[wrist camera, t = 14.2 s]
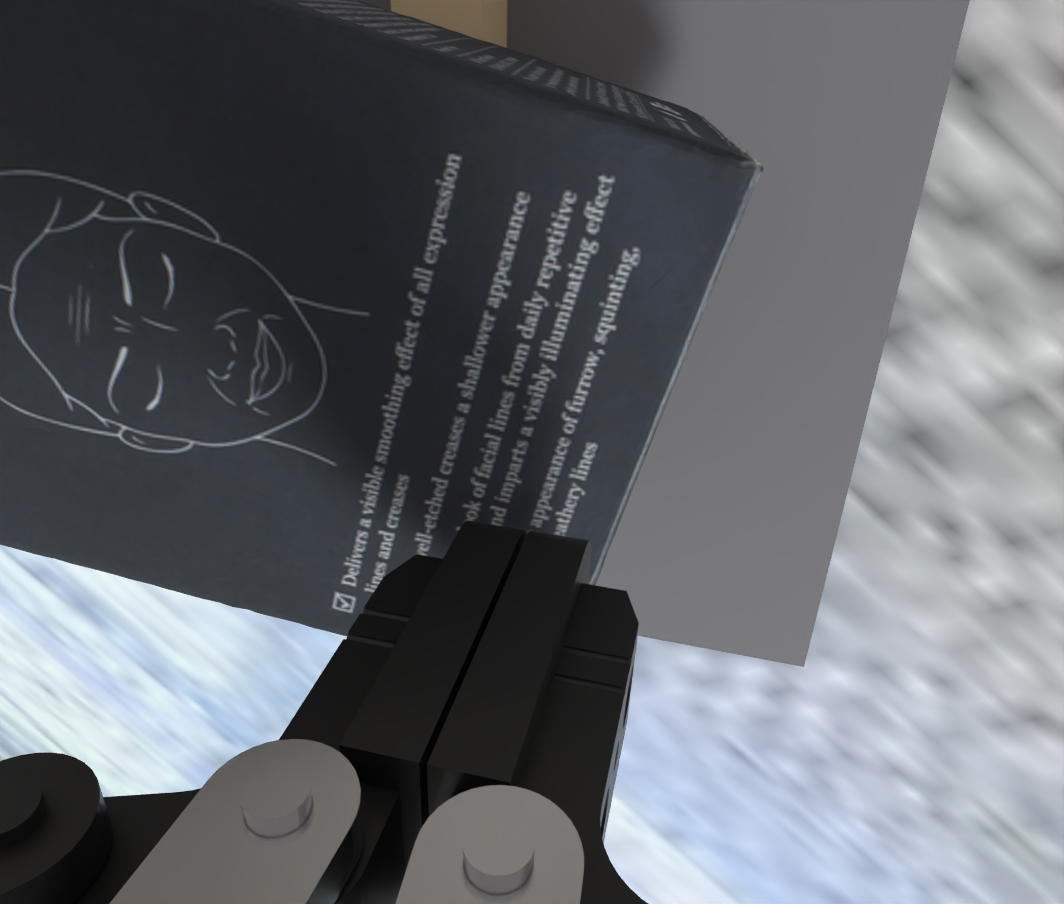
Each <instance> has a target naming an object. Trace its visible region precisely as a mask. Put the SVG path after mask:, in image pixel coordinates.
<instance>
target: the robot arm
mask: <svg viewBox="0 0 1064 904" xmlns="http://www.w3.org/2000/svg"><path fill="white" fill-rule="evenodd" d="M590 562H591V541H590V540H584V539H578V538H572V537H566V536H560V535H554V534H548V533H542V532H536V531H529V532H527V530H523V529H517V528H511V527H505V526H499V525H493V524H487V523H481V522H475V521H469V520H467V521H465V522H464V523H463V525H462V526H461V528H460V530H459V531H458V533H457V535H456V537H455V538H454V540H453V542H452V544H451V546H450V547H449V549H448V551H447V553H446V555H445V556H444V558H443V559H442V558H436V557H430V556H425V555H419V554H416V555H414V556H413V557H411V558H410V559H409V560H407V561H406V562H404V563H403V564H401V565H400V566H399V567H397V568H396V569H394V570H393V571H391V572H390V573H389V574H387V575H386V576H384V577H383V578H382V580H381V582H380V583H379V585H378V586H377V588H376V589H375V591H374V592H373V594H372V596H371V597H370V599H369V600H368V602H367V603H366V605H365V607H364V611H363V614H359V616H358V617H357V619H356V621H355V622H354V624H353V625H352V627H351V628H350V630H349V632H348V636H347V639H346V640H345V639H343V641H342V642H341V644H340V646H339V647H338V649H337V650H336V652H335V653H334V655H333V657H332V658H331V660H330V661H329V663H328V664H327V666H326V667H325V669H324V671H323V672H322V674H321V675H320V677H319V678H318V680H317V682H316V683H315V685H314V686H313V688H312V689H311V691H310V692H309V694H308V696H307V697H306V699H305V700H304V702H303V703H302V705H301V706H300V708H299V710H298V711H297V713H296V714H295V716H294V717H293V719H292V721H291V722H290V724H289V725H288V727H287V728H286V730H285V731H284V733H283V735H282V736H281V737H280V739H279V740H278V741H273V742H268V743H264V744H261V745H258V746H255V747H253V748H251V749H248V750H246V751H244V752H242V753H240V754H238V755H237V756H235V757H234V758H232V759H231V760H229V761H228V762H226V763H225V764H224V765H223V766H222V767H220V768H219V769H218V770H217V771H216V772H215V773H214V774H213V775H212V776H211V777H210V778H209V780H208V781H207V782H206V783H205V784H204V786H203V787H202V788H201V789H196V790H192V791H184V792H174V793H159V794H145V795H130V796H115V797H103V795H102V792H101V789H100V786H99V783H98V780H97V777H96V776H95V774H94V772H93V771H92V769H91V768H90V767H88V766H87V765H86V764H85V763H84V762H82V761H80V760H78V759H77V758H75V757H71V756H68V755H65V754H58V753H33V754H26V755H20V756H16V757H13V758H9V759H5V760H3V761H0V904H648V903H646V902H645V901H644V900H642V899H641V898H640V897H639V896H638V895H637V894H635V893H634V892H633V891H632V890H631V889H630V888H629V887H628V886H627V885H626V883H625V882H624V881H623V880H622V879H621V877H620V876H619V875H618V873H617V872H616V870H615V868H614V867H613V865H612V864H611V862H610V860H609V857H608V855H607V853H606V850H605V848H604V844H603V842H604V837H605V832H606V827H607V822H608V816H609V811H610V806H611V801H612V796H613V789H614V785H615V780H616V775H617V770H618V765H619V758H620V754H621V749H622V744H623V739H624V734H625V728H626V723H627V717H628V709H629V701H630V692H631V684H632V676H633V668H634V660H635V652H636V644H637V635H638V627H639V622H638V620H637V617H636V614H635V612H634V609H633V606H632V604H631V601H630V598H629V596H628V593H627V591H624V590H619V589H613V588H607V587H602V586H596V585H590V584H589V574H590Z"/></svg>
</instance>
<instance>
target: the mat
mask: <svg viewBox="0 0 1064 904" xmlns="http://www.w3.org/2000/svg"><path fill="white" fill-rule="evenodd" d="M360 1H363V2H366V3H369V4H372V5H374V6H377V7H380V8H383V9H386V10H389V11H392V12H395V13H398V14H402V15H406V16H409V17H413V18H416V19H419V20H422V21H425V22H428V23H431V24H434V25H437V26H441V27H443V28H446V29H448V30H451V31H455V32H459V33H462V34H465V35H467V36H470V37H473V38H475V39H479V40H483V41H486V42H490V43H493V44H496V45H499V46H502V47H505V48H508V49H511V50H514V51H517V52H520V53H523V54H526V55H529V56H532V57H535V58H538V59H541V60H544V61H547V62H550V63H553V64H556V65H558V66H562V67H565V68H568V69H571V70H573V71H576V72H578V73H582V74H586V75H589V76H592V77H594V78H597V79H599V80H602V81H606V82H609V83H612V84H615V85H619V86H622V87H625V88H628V89H631V90H634V91H637V92H640V93H643V94H646V95H649V96H652V97H655V98H658V99H660V100H664V101H667V102H671V103H674V104H677V105H680V106H682V107H685V108H687V109H689V110H691V111H693V112H695V113H697V114H699V115H700V116H703V117H707V118H708V119H709V120H710V122H711V123H712V124H713V125H715V126H716V127H717V128H719V129H720V130H721V131H723V132H724V133H725V134H727V135H728V136H729V137H730V139H731V140H733V141H736V142H738V143H739V145H742V147H743V148H744V149H746V150H747V151H748V152H749V154H750V155H751V156H752V157H754V158H756V159H757V160H758V161H759V162H760V163H761V164H762V165H763V168H764V169H763V172H762V175H761V177H760V178H759V180H758V182H757V184H756V185H755V187H754V190H753V192H752V194H751V197H750V199H749V202H748V204H747V206H746V209H745V211H744V214H743V216H742V219H741V221H740V224H739V226H738V229H737V231H736V234H735V237H734V239H733V241H732V244H731V246H730V248H729V250H728V253H727V255H726V257H725V260H724V262H723V264H722V267H721V269H720V272H719V274H718V277H717V279H716V282H715V284H714V287H713V289H712V292H711V294H710V297H709V300H708V302H707V305H706V307H705V310H704V312H703V315H702V317H701V319H700V322H699V324H698V327H697V329H696V331H695V334H694V336H693V339H692V341H691V344H690V346H689V349H688V352H687V355H686V357H685V360H684V362H683V365H682V367H681V369H680V372H679V374H678V377H677V379H676V382H675V384H674V387H673V389H672V392H671V394H670V397H669V399H668V402H667V404H666V407H665V410H664V412H663V414H662V417H661V419H660V421H659V424H658V426H657V429H656V431H655V434H654V437H653V440H652V442H651V445H650V447H649V450H648V452H647V455H646V457H645V460H644V462H643V465H642V467H641V470H640V472H639V475H638V477H637V480H636V482H635V485H634V487H633V490H632V492H631V495H630V497H629V500H628V502H627V505H626V507H625V510H624V512H623V515H622V518H621V520H620V523H619V526H618V528H617V531H616V533H615V536H614V538H613V540H612V543H611V545H610V548H609V550H608V553H607V556H606V559H605V562H604V565H603V567H602V570H601V572H600V575H599V577H598V579H597V582H596V584H595V585H596V586H602V587H607V588H613V589H619V590H624V591H627V593H628V596H629V598H630V601H631V604H632V606H633V609H634V612H635V614H636V617H637V620H638V622H639V627H638V636H643V637H648V638H653V639H659V640H664V641H669V642H675V643H680V644H685V645H691V646H696V647H701V648H707V649H712V650H717V651H723V652H728V653H733V654H739V655H744V656H749V657H755V658H760V659H765V660H771V661H776V662H781V663H786V664H792V665H797V666H802V667H804V664H805V660H806V656H807V652H808V648H809V644H810V640H811V636H812V632H813V628H814V624H815V620H816V616H817V612H818V608H819V604H820V600H821V596H822V592H823V588H824V584H825V580H826V576H827V572H828V568H829V563H830V559H831V555H832V551H833V547H834V543H835V539H836V535H837V531H838V527H839V523H840V519H841V515H842V511H843V507H844V503H845V499H846V495H847V491H848V487H849V483H850V479H851V475H852V471H853V467H854V463H855V459H856V455H857V451H858V447H859V443H860V439H861V435H862V431H863V427H864V423H865V419H866V415H867V411H868V407H869V403H870V398H871V394H872V390H873V386H874V382H875V378H876V374H877V370H878V366H879V362H880V358H881V354H882V350H883V346H884V342H885V338H886V334H887V330H888V326H889V322H890V318H891V314H892V310H893V306H894V302H895V298H896V294H897V290H898V286H899V282H900V278H901V274H902V270H903V266H904V262H905V258H906V254H907V250H908V246H909V242H910V238H911V234H912V229H913V225H914V221H915V217H916V213H917V209H918V205H919V201H920V197H921V193H922V189H923V185H924V181H925V177H926V173H927V169H928V165H929V161H930V157H931V153H932V149H933V145H934V141H935V137H936V133H937V129H938V125H939V121H940V117H941V113H942V109H943V105H944V101H945V97H946V93H947V89H948V85H949V81H950V77H951V73H952V69H953V64H954V60H955V56H956V52H957V48H958V44H959V40H960V36H961V32H962V28H963V24H964V20H965V16H966V12H967V8H968V4H969V0H360Z"/></svg>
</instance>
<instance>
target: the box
mask: <svg viewBox="0 0 1064 904" xmlns="http://www.w3.org/2000/svg"><path fill="white" fill-rule="evenodd" d="M763 169H764V168H763V165H762V164H761V163H760V162H759V161H758V160H757V159H756V158H754V157H752V156H751V155H750V154H749V152H748V151H747V150H746V149H744V148H743V147H742V145H739V143H738V142H736V141H733V140H731V139H730V137H729V136H728V135H727V134H725V133H724V132H723V131H721V130H720V129H719V128H717V127H716V126H715V125H713V124H712V123H711V122H710V120H709V119H708V118H707V117H703V116H700V115H699V114H697V113H695V112H693V111H691V110H689V109H687V108H685V107H682V106H680V105H677V104H674V103H671V102H667V101H664V100H660V99H658V98H655V97H652V96H649V95H646V94H643V93H640V92H637V91H634V90H631V89H628V88H625V87H622V86H619V85H615V84H612V83H609V82H606V81H602V80H599V79H597V78H594V77H592V76H589V75H586V74H582V73H578V72H576V71H573V70H571V69H568V68H565V67H562V66H558V65H556V64H553V63H550V62H547V61H544V60H541V59H538V58H535V57H532V56H529V55H526V54H523V53H520V52H517V51H514V50H511V49H508V48H505V47H502V46H499V45H496V44H493V43H490V42H486V41H483V40H479V39H475V38H473V37H470V36H467V35H465V34H462V33H459V32H455V31H451V30H448V29H446V28H443V27H441V26H437V25H434V24H431V23H428V22H425V21H422V20H419V19H416V18H413V17H409V16H406V15H402V14H398V13H395V12H392V11H389V10H386V9H383V8H380V7H377V6H374V5H372V4H369V3H366V2H363V1H360V0H0V545H4V546H8V547H12V548H15V549H19V550H23V551H26V552H30V553H33V554H37V555H41V556H45V557H50V558H55V559H58V560H62V561H65V562H68V563H71V564H75V565H80V566H84V567H88V568H92V569H95V570H100V571H103V572H107V573H111V574H115V575H118V576H121V577H125V578H128V579H132V580H136V581H140V582H144V583H148V584H152V585H155V586H159V587H162V588H165V589H169V590H173V591H177V592H180V593H184V594H188V595H191V596H195V597H199V598H202V599H206V600H211V601H215V602H220V603H223V604H226V605H229V606H232V607H237V608H243V609H248V610H251V611H254V612H257V613H260V614H264V615H268V616H272V617H276V618H280V619H284V620H288V621H292V622H296V623H300V624H303V625H306V626H309V627H312V628H316V629H321V630H325V631H329V632H332V633H336V634H340V635H344V636H348V632H349V630H350V628H351V627H352V625H353V624H354V622H355V621H356V619H357V617H358V616H359V614H363V611H364V607H365V605H366V603H367V602H368V600H369V599H370V597H371V596H372V594H373V592H374V591H375V589H376V588H377V586H378V585H379V583H380V582H381V580H382V578H383V577H384V576H386V575H387V574H389V573H390V572H391V571H393V570H394V569H396V568H397V567H399V566H400V565H401V564H403V563H404V562H406V561H407V560H409V559H410V558H411V557H413V556H414V555H416V554H419V555H425V556H430V557H436V558H442V559H443V558H444V556H445V555H446V553H447V551H448V549H449V547H450V546H451V544H452V542H453V540H454V538H455V537H456V535H457V533H458V531H459V530H460V528H461V526H462V525H463V523H464V522H465V521H467V520H469V521H475V522H481V523H487V524H493V525H499V526H505V527H511V528H517V529H523V530H527V532H529V531H536V532H542V533H548V534H554V535H560V536H566V537H572V538H578V539H584V540H590V541H591V562H590V574H589V584H590V585H595V584H596V582H597V579H598V577H599V575H600V572H601V570H602V567H603V565H604V562H605V559H606V556H607V553H608V550H609V548H610V545H611V543H612V540H613V538H614V536H615V533H616V531H617V528H618V526H619V523H620V520H621V518H622V515H623V512H624V510H625V507H626V505H627V502H628V500H629V497H630V495H631V492H632V490H633V487H634V485H635V482H636V480H637V477H638V475H639V472H640V470H641V467H642V465H643V462H644V460H645V457H646V455H647V452H648V450H649V447H650V445H651V442H652V440H653V437H654V434H655V431H656V429H657V426H658V424H659V421H660V419H661V417H662V414H663V412H664V410H665V407H666V404H667V402H668V399H669V397H670V394H671V392H672V389H673V387H674V384H675V382H676V379H677V377H678V374H679V372H680V369H681V367H682V365H683V362H684V360H685V357H686V355H687V352H688V349H689V346H690V344H691V341H692V339H693V336H694V334H695V331H696V329H697V327H698V324H699V322H700V319H701V317H702V315H703V312H704V310H705V307H706V305H707V302H708V300H709V297H710V294H711V292H712V289H713V287H714V284H715V282H716V279H717V277H718V274H719V272H720V269H721V267H722V264H723V262H724V260H725V257H726V255H727V253H728V250H729V248H730V246H731V244H732V241H733V239H734V237H735V234H736V231H737V229H738V226H739V224H740V221H741V219H742V216H743V214H744V211H745V209H746V206H747V204H748V202H749V199H750V197H751V194H752V192H753V190H754V187H755V185H756V184H757V182H758V180H759V178H760V177H761V175H762V172H763Z"/></svg>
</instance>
